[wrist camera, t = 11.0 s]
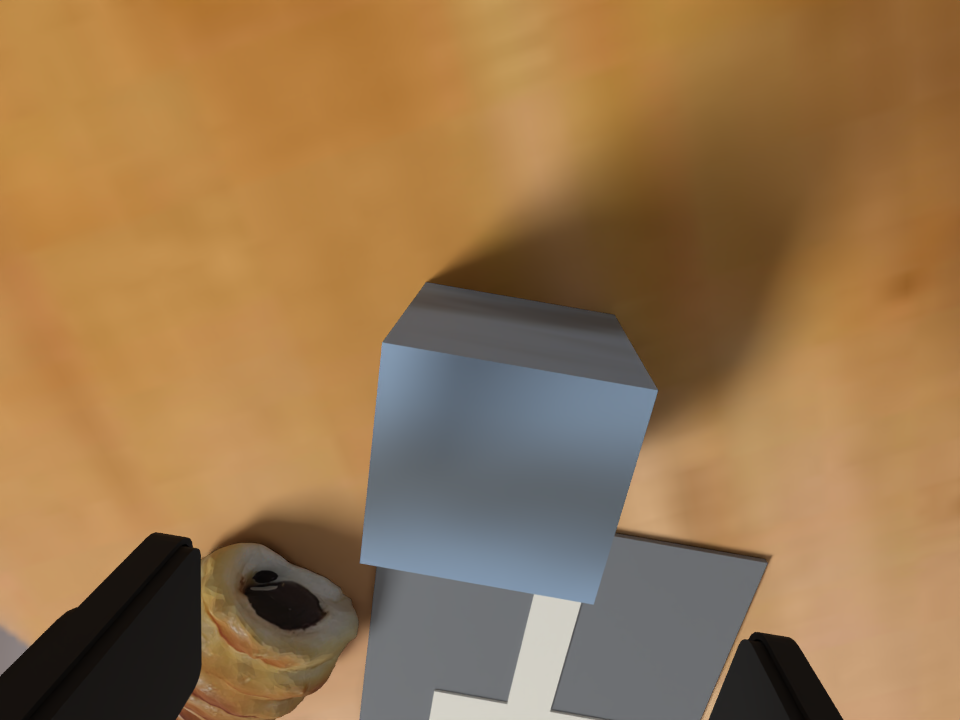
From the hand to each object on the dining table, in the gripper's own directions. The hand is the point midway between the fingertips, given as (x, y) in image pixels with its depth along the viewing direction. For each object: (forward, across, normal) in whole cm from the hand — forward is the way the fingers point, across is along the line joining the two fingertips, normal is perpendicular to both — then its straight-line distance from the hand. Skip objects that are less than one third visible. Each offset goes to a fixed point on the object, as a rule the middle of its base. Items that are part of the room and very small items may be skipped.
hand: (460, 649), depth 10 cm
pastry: (+11, +8, +11) cm, 17 cm away
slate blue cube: (+10, 0, -1) cm, 10 cm away
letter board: (+10, -4, +10) cm, 15 cm away
